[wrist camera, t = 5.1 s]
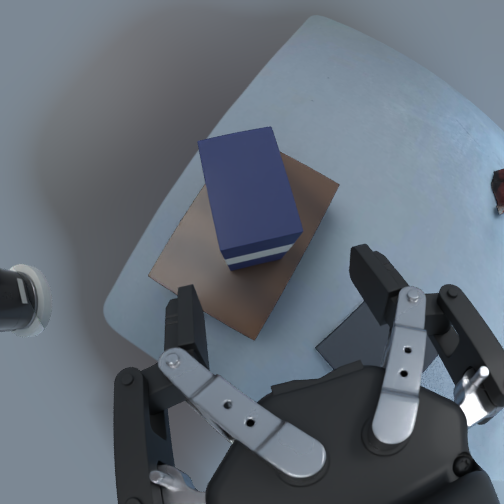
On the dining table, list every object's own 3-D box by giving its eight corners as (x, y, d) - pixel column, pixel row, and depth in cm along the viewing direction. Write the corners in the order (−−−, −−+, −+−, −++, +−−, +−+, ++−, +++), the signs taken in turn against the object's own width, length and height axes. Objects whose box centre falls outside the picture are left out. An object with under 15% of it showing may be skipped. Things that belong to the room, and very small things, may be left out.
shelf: (252, 332, 34) (254, 340, 27) (166, 281, 34) (147, 276, 27) (323, 205, 36) (339, 184, 29) (241, 160, 37) (240, 132, 30)
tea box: (230, 271, 28) (219, 251, 17) (213, 197, 29) (196, 140, 18) (282, 259, 28) (304, 232, 17) (262, 186, 29) (271, 125, 18)
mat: (376, 417, 32) (378, 418, 31) (314, 347, 33) (316, 348, 33) (443, 344, 33) (446, 344, 33) (392, 271, 35) (394, 271, 34)
